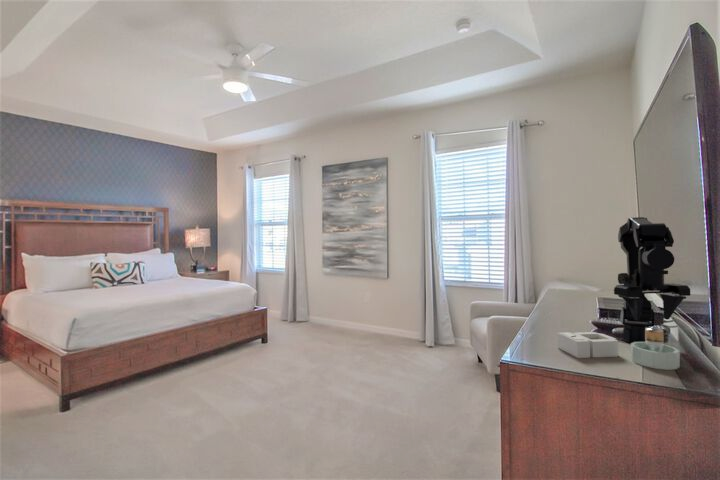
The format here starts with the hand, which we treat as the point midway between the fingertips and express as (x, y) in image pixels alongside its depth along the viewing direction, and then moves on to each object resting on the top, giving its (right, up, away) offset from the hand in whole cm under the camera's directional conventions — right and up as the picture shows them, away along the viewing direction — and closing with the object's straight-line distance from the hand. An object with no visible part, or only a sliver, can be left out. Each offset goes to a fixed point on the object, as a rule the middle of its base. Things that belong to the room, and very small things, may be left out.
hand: (651, 319), depth 103 cm
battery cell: (0, -12, -1) cm, 12 cm away
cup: (0, -12, 0) cm, 12 cm away
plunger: (-10, -10, +10) cm, 17 cm away
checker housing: (-12, -13, +10) cm, 20 cm away
